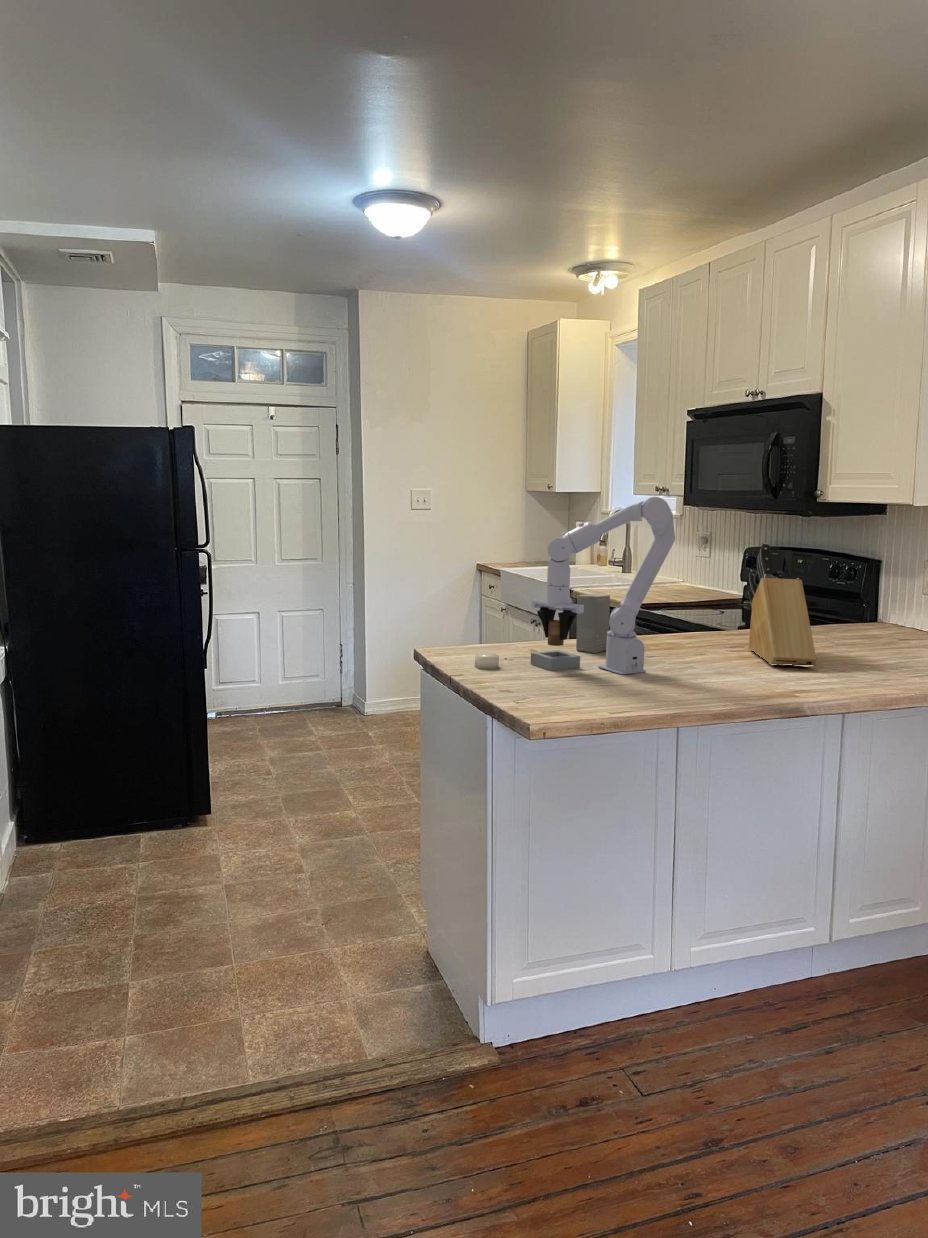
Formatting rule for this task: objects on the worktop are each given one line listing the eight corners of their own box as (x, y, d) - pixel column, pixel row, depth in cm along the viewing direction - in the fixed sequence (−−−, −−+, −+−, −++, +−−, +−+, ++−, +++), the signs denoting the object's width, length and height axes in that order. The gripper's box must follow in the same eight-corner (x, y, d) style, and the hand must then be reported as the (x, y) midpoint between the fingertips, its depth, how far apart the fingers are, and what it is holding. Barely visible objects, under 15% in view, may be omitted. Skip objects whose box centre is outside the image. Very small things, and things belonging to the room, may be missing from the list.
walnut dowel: (566, 645, 227) (566, 622, 226) (551, 646, 225) (552, 622, 224) (559, 642, 230) (560, 619, 229) (545, 643, 229) (545, 620, 228)
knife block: (779, 646, 265) (787, 541, 260) (816, 671, 230) (827, 551, 225) (740, 645, 266) (748, 540, 261) (771, 669, 231) (781, 549, 226)
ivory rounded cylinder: (503, 667, 225) (503, 656, 225) (484, 670, 222) (485, 658, 221) (488, 663, 230) (488, 651, 230) (470, 665, 226) (470, 654, 226)
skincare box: (595, 654, 246) (598, 596, 244) (573, 650, 250) (575, 594, 248) (610, 649, 253) (613, 594, 250) (588, 646, 257) (590, 591, 254)
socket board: (579, 667, 227) (580, 656, 227) (550, 670, 223) (551, 658, 222) (558, 661, 235) (559, 649, 234) (530, 664, 230) (530, 652, 230)
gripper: (591, 586, 224) (588, 640, 226) (543, 581, 233) (541, 632, 235) (575, 588, 219) (573, 643, 221) (527, 583, 228) (525, 636, 230)
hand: (556, 638), depth 228 cm, fingers closed on walnut dowel, 4 cm apart
